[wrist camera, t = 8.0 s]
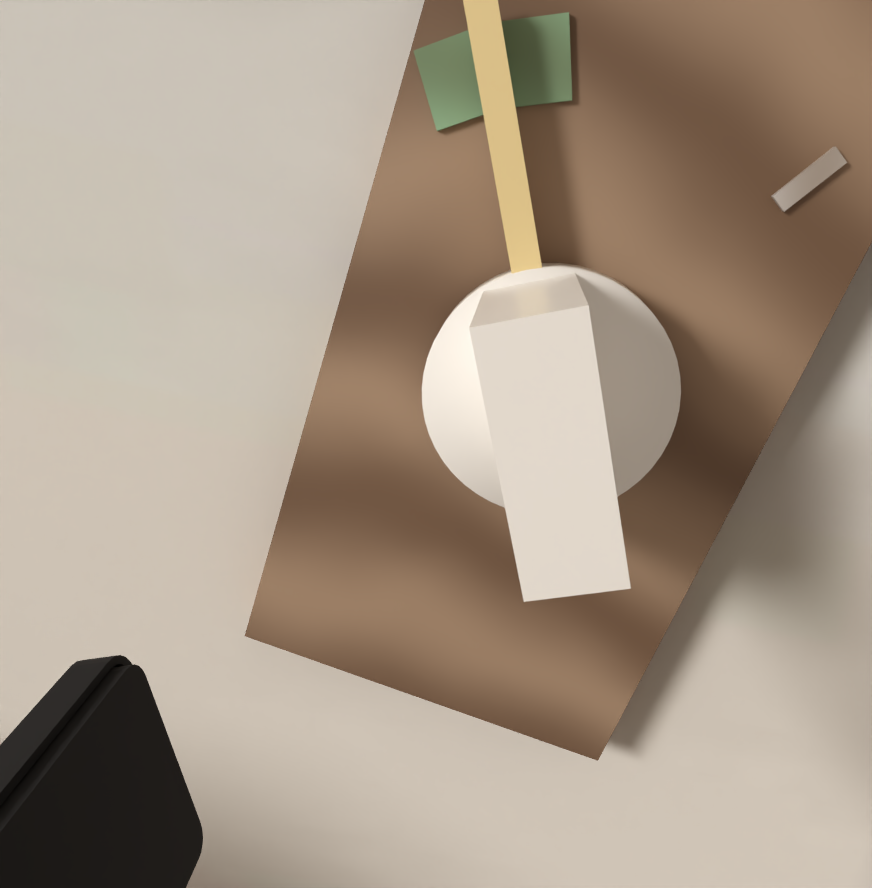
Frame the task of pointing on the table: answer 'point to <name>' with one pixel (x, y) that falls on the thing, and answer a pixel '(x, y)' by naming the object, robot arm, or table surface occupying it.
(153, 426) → the table surface
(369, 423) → the dial board
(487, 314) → the knob
